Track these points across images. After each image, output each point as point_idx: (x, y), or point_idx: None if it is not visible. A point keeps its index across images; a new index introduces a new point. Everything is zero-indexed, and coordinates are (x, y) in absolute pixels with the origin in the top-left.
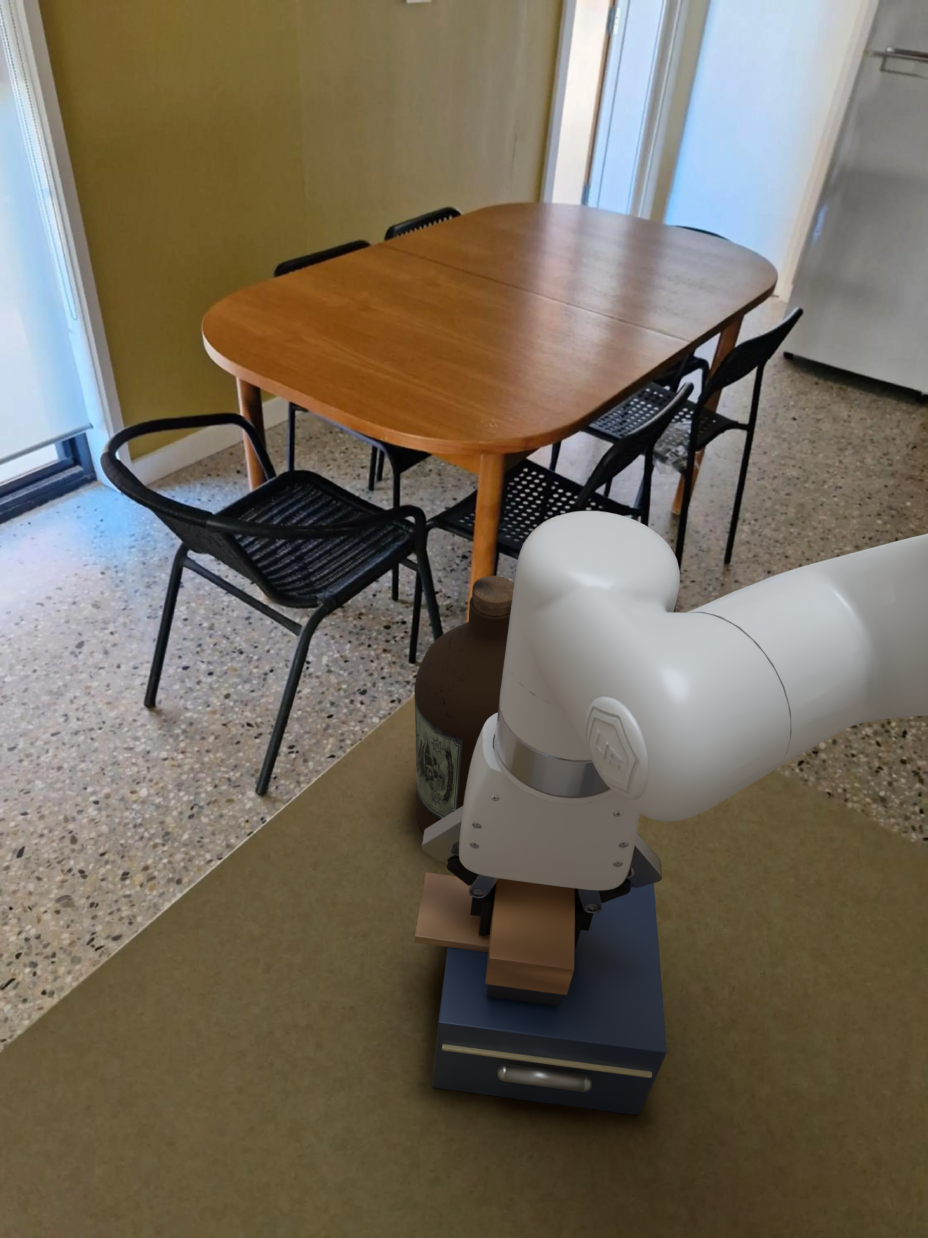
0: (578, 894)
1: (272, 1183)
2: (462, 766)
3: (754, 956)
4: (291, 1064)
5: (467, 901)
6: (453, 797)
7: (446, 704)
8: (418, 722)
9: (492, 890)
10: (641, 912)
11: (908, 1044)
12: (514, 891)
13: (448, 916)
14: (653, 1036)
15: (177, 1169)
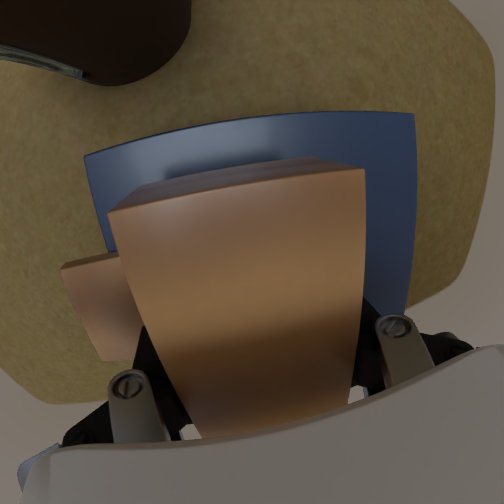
0: (361, 381)
1: None
2: (22, 46)
3: (426, 130)
4: (82, 331)
5: None
6: (62, 66)
7: None
8: None
9: (185, 419)
10: (402, 208)
11: (483, 184)
12: (230, 415)
13: (125, 328)
14: None
15: (75, 385)
